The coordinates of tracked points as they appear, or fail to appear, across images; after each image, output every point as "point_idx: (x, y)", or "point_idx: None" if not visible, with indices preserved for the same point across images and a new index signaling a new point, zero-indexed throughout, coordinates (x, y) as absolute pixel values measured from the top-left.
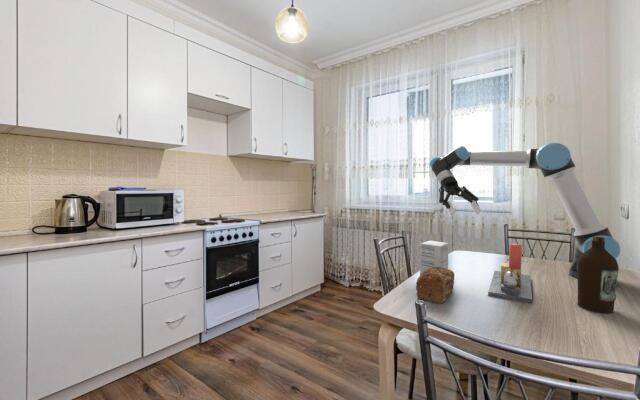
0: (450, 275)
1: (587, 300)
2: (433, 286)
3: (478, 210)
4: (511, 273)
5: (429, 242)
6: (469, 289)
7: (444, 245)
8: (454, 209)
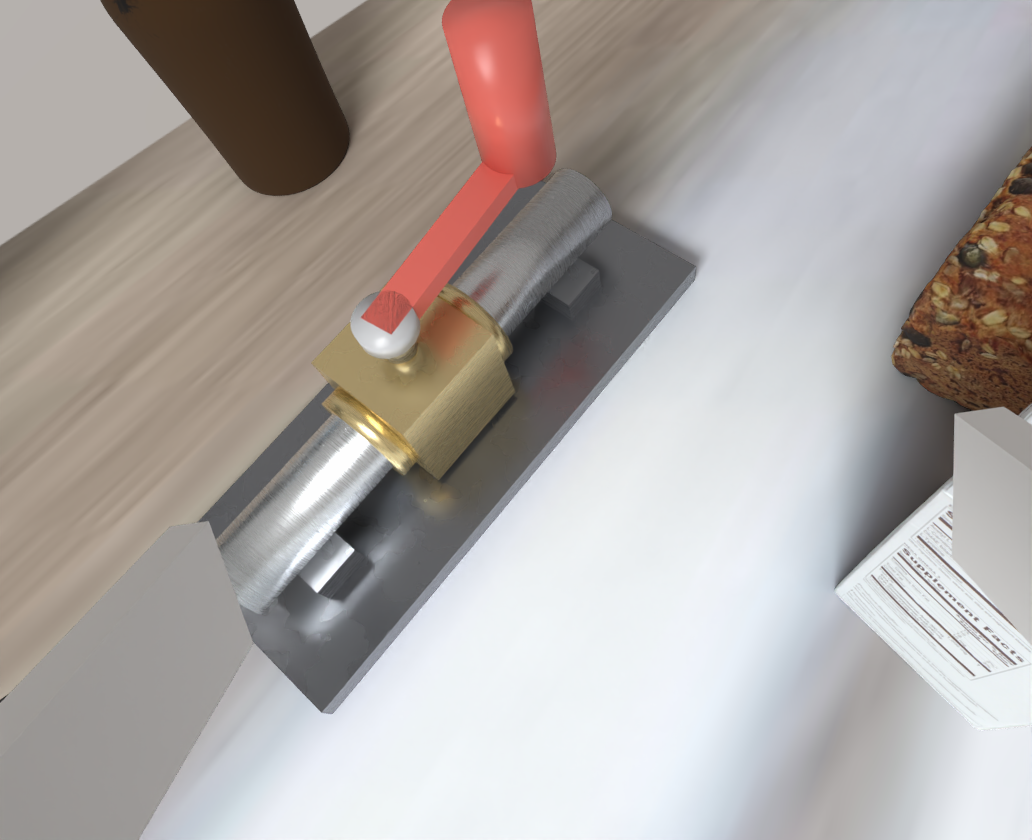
0: (990, 212)
1: (333, 96)
2: None
3: (201, 576)
4: (503, 250)
5: None
6: (759, 375)
7: (1025, 416)
8: (997, 441)
